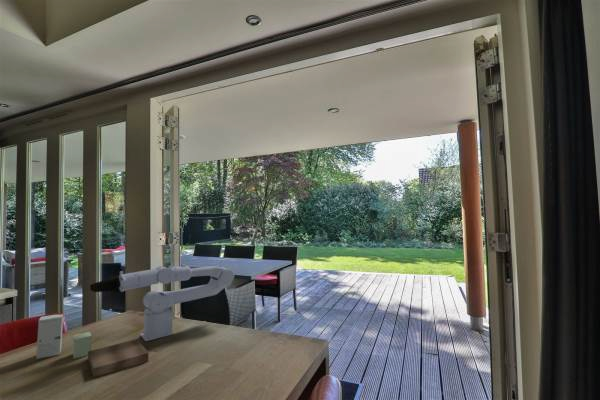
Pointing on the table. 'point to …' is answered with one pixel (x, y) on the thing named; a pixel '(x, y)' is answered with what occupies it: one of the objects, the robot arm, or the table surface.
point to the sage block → (81, 344)
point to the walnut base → (116, 357)
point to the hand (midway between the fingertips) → (91, 288)
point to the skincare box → (49, 336)
